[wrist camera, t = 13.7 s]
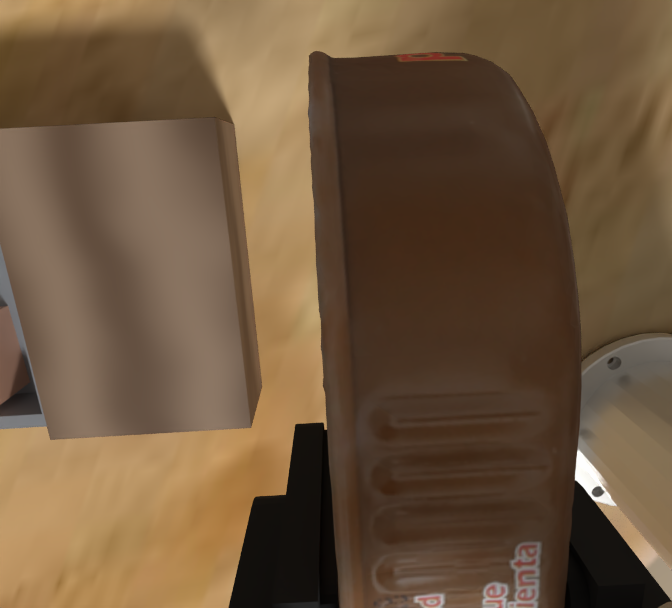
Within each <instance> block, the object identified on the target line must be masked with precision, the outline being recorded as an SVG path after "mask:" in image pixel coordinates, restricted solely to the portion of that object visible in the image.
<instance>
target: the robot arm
mask: <svg viewBox="0 0 672 608" xmlns="http://www.w3.org/2000/svg"><path fill="white" fill-rule="evenodd" d="M581 374H582V390H581V410H580V428H579V439H578V450H577V460H576V471H575V486H574V501H573V505H572V526H571V535H570V542H569V559H568V574H567V583H566V593H565V606H564V608H672V601H671V600H670V598H669V597H668V596H667V595H666V593H665V592H664V591H663V590H662V588H661V587H660V586H659V584H658V583H657V582H656V580H655V579H654V578H653V577H652V576H651V574H650V573H649V571H648V570H647V569H646V567H645V566H644V565H643V564H642V562H641V561H640V560H639V558H638V557H637V556H636V555H635V553H634V552H633V551H632V549H631V548H630V547H629V546H628V544H627V543H626V542H625V540H624V539H623V538H622V537H621V535H620V534H619V533H618V531H617V530H616V529H615V528H614V526H613V525H612V524H611V522H610V521H609V520H608V519H607V517H606V516H605V515H604V513H603V512H602V511H601V509H600V508H599V507H598V506H597V504H596V503H595V502H594V501H596V502H599V503H603V504H606V505H611V506H618V507H619V509H620V510H621V511H622V512H623V513H624V515H625V516H626V517H627V518H628V519H629V520H630V522H631V523H632V524H633V525H634V526H635V528H636V529H637V530H638V531H639V532H640V534H641V535H642V536H643V537H644V538H645V539H646V541H647V542H648V543H649V544H650V545H651V547H652V548H653V549H654V550H655V551H656V552H657V554H658V555H659V556H660V557H661V558H662V559H663V561H664V562H665V563H666V564H667V565H668V567H669V568H670V569H671V570H672V334H668V333H646V334H639V335H635V336H630V337H626V338H623V339H620V340H618V341H615V342H613V343H611V344H608V345H606V346H604V347H602V348H601V349H599V350H598V351H596V352H594V353H593V354H591V355H590V356H588V357H587V358H586V359H585V360H584V361H582V362H581ZM229 608H339V595H338V572H337V562H336V551H335V537H334V523H333V504H332V488H331V479H330V469H329V455H328V435H327V430H324V423H307V424H296V425H295V432H294V439H293V447H292V454H291V462H290V469H289V477H288V484H287V492H286V495H277V496H259V497H255V498H254V501H253V504H252V508H251V512H250V516H249V521H248V525H247V529H246V534H245V538H244V543H243V547H242V551H241V556H240V560H239V565H238V569H237V573H236V578H235V582H234V586H233V591H232V595H231V600H230V604H229Z"/></svg>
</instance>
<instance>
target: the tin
mask: <svg viewBox="0 0 672 608" xmlns="http://www.w3.org/2000/svg"><path fill="white" fill-rule="evenodd" d="M308 74H309V84H308V90H309V109H308V117H309V131H310V149H311V170H312V190H313V198H314V213H315V241H316V268H317V279H318V300H319V312H320V318H321V350H322V359H323V376H324V378H323V387H324V391H325V396H326V418H327V435H328V455H329V469H330V479H331V488H332V504H333V523H334V537H335V551H336V562H337V572H338V595H339V608H564V606H565V593H566V583H567V574H568V559H569V542H570V535H571V526H572V505H573V501H574V486H575V471H576V460H577V450H578V439H579V428H580V410H581V390H582V374H581V326H580V312H579V300H578V290H577V281H576V272H575V263H574V257H573V250H572V244H571V237H570V231H569V224H568V218H567V213H566V209H565V205H564V202H563V198H562V194H561V190H560V186H559V183H558V179H557V175H556V171H555V167H554V164H553V161H552V158H551V155H550V152H549V149H548V146H547V143H546V140H545V138H544V136H543V133H542V131H541V129H540V127H539V124H538V122H537V120H536V117H535V115H534V113H533V111H532V109H531V107H530V106H529V104H528V102H527V101H526V99H525V97H524V96H523V94H522V92H521V91H520V89H519V87H518V86H517V85H516V83H515V82H514V80H513V79H512V77H511V76H510V75H509V74H508V73H507V72H505V71H504V70H503V69H501V68H500V67H498V66H497V65H496V64H494V63H493V62H491V61H488V60H486V59H483V58H480V57H478V56H474V55H470V54H465V53H441V52H432V53H418V54H403V55H388V56H373V57H358V58H331V57H330V56H328V55H327V54H325V53H323V52H319V51H315V52H313V53H311V54H310V55H309V71H308Z"/></svg>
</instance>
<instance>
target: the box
mask: <svg viewBox="0 0 672 608" xmlns="http://www.w3.org/2000/svg"><path fill="white" fill-rule="evenodd" d="M0 306H8V307H9V311H10V314H11V318H12V321H13V325H14V328H15V331H16V335H17V338H18V342H19V345H20V349H21V352H22V356H23V359H24V362H25V366H26V369H27V373H28V376H29V380H30V383H28V384H27V385H26V386H24V387H23V388H22V389H20V390H19V391H18V392H17V393H15V394H14V395H13V396H11V397H10V398H9V399H7V400H6V401H5V402H3V403H2V404H1V405H0V429H10V428H27V427H44V426H47V425H46V421H45V417H44V413H43V409H42V405H41V401H40V397H39V394H38V390H37V386H36V382H35V378H34V374H33V370H32V366H31V362H30V358H29V355H28V351H27V347H26V343H25V339H24V335H23V331H22V327H21V323H20V319H19V316H18V312H17V308H16V304H15V300H14V296H13V292H12V288H11V284H10V280H9V277H8V273H7V269H6V265H5V261H4V257H3V253H2V249H1V245H0Z"/></svg>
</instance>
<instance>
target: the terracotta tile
mask: <svg viewBox="0 0 672 608" xmlns="http://www.w3.org/2000/svg"><path fill="white" fill-rule="evenodd" d="M28 383H30V380H29V376H28V373H27V369H26V366H25V362H24V359H23V356H22V352H21V349H20V345H19V342H18V338H17V335H16V331H15V328H14V325H13V321H12V318H11V314H10V311H9V307H8V306H0V405H1V404H2V403H3V402H5V401H6V400H7V399H9V398H10V397H11V396H13V395H14V394H15V393H17V392H18V391H19V390H20V389H22V388H23V387H24V386H26V385H27V384H28Z"/></svg>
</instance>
